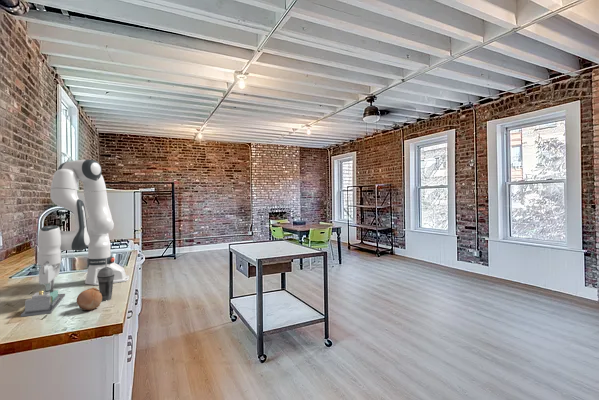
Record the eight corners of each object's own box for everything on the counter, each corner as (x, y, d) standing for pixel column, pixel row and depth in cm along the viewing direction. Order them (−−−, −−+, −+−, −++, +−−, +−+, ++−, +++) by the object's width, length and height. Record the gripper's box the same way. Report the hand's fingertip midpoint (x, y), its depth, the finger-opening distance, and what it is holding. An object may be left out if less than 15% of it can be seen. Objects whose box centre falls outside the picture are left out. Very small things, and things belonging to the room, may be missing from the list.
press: (65, 295, 156) (65, 283, 156) (50, 313, 133) (50, 299, 133) (39, 298, 152) (39, 286, 152) (20, 317, 129) (20, 302, 128)
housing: (46, 308, 136) (46, 291, 136) (32, 310, 134) (32, 293, 134) (49, 304, 140) (49, 288, 140) (35, 306, 138) (35, 290, 138)
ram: (58, 296, 152) (58, 280, 152) (52, 303, 142) (52, 285, 142) (42, 298, 149) (42, 281, 149) (35, 305, 140) (35, 287, 140)
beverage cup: (96, 302, 146) (96, 260, 146) (97, 298, 153) (98, 257, 153) (114, 300, 150) (114, 259, 149) (115, 296, 156) (115, 256, 156)
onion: (94, 312, 142) (101, 290, 146) (101, 311, 136) (108, 288, 141) (70, 309, 136) (78, 286, 140) (76, 309, 130) (85, 284, 134)
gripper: (52, 263, 141) (52, 294, 141) (62, 255, 159) (62, 282, 159) (34, 265, 138) (34, 296, 138) (47, 256, 156) (47, 284, 156)
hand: (49, 288), depth 149 cm, fingers closed on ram, 3 cm apart
